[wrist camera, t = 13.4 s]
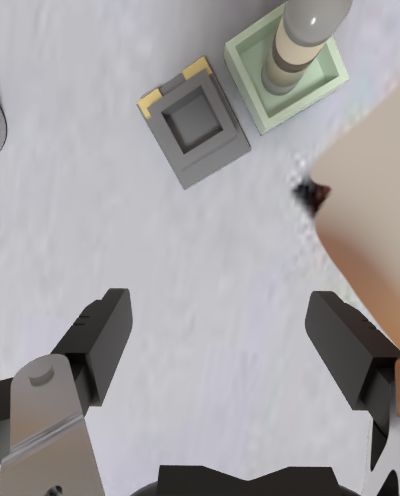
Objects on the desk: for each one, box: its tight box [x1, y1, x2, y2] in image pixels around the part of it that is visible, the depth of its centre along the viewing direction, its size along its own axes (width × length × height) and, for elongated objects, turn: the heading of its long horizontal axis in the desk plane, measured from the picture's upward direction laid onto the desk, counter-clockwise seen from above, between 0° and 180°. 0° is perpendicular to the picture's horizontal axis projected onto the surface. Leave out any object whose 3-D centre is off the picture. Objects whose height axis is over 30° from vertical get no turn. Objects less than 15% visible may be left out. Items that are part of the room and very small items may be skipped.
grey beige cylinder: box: [261, 0, 353, 96], centre depth 22 cm, size 5×5×11 cm
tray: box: [224, 2, 350, 136], centre depth 27 cm, size 10×10×3 cm
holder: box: [136, 56, 251, 190], centre depth 28 cm, size 12×10×4 cm
